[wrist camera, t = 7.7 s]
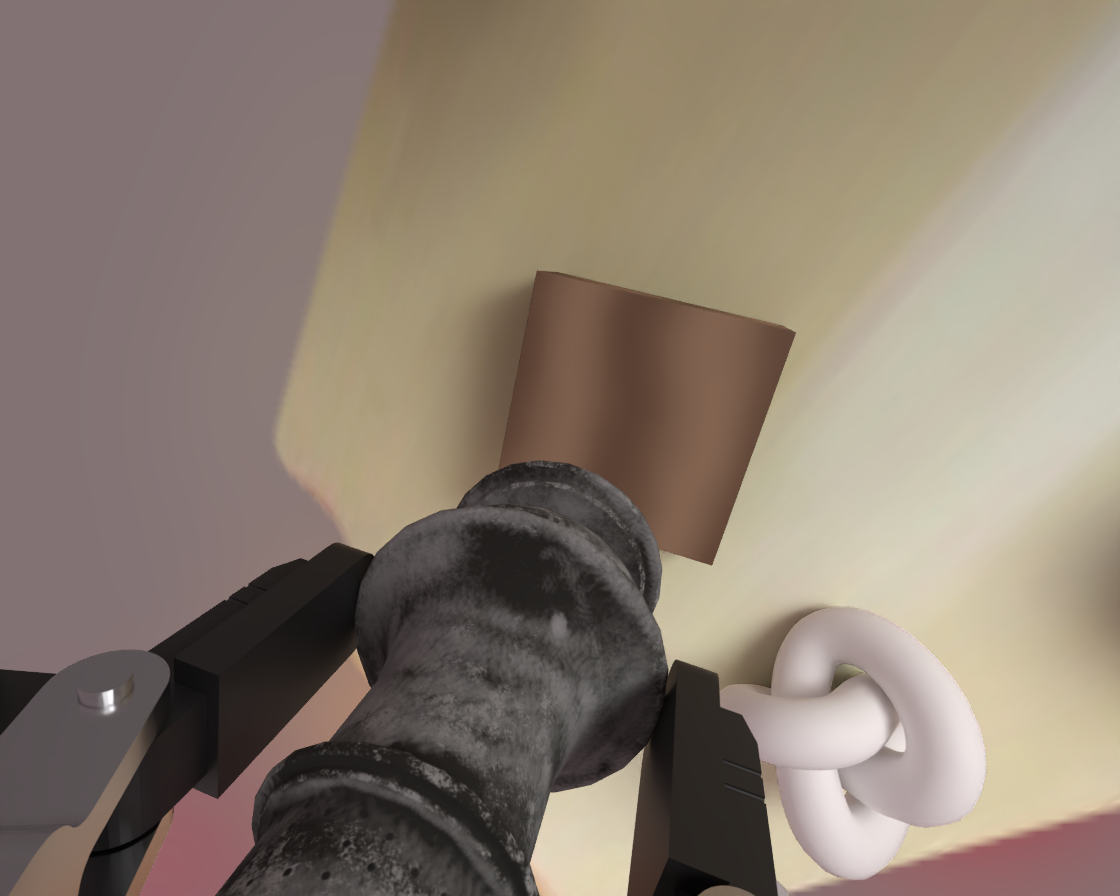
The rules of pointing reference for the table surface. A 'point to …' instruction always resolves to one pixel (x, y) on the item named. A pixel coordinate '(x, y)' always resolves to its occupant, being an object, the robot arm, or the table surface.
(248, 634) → the robot arm
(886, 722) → the white knot sculpture
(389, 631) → the salt shaker
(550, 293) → the walnut base
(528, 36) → the table surface
